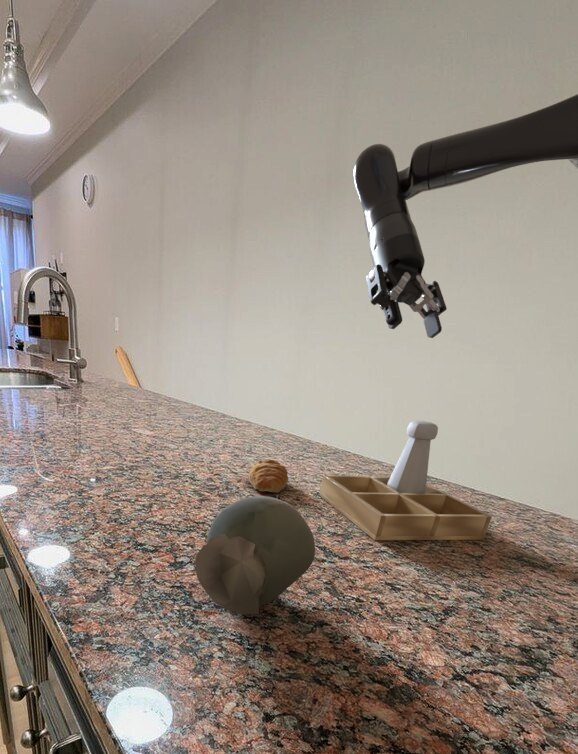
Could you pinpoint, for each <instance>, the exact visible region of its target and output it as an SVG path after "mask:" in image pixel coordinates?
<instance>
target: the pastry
mask: <svg viewBox="0 0 578 754" xmlns="http://www.w3.org/2000/svg"><path fill="white" fill-rule="evenodd" d="M247 475H248V476H247V477H248V481H249V484H250V485H251V486H252V487H253V488H254V490H257V491H258V492H271V493H276V494H277V493H280V492H281V491H283V490H284V489H286V486H287V484H288V481H289V476H288V470H287V468H286V467H285V466H284V465H281V463H280V462H279V461H276V460H274V459H264V460H258V462H256V463H253V466H252V467H251V468H250V470H249V472H248V474H247Z"/></svg>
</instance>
